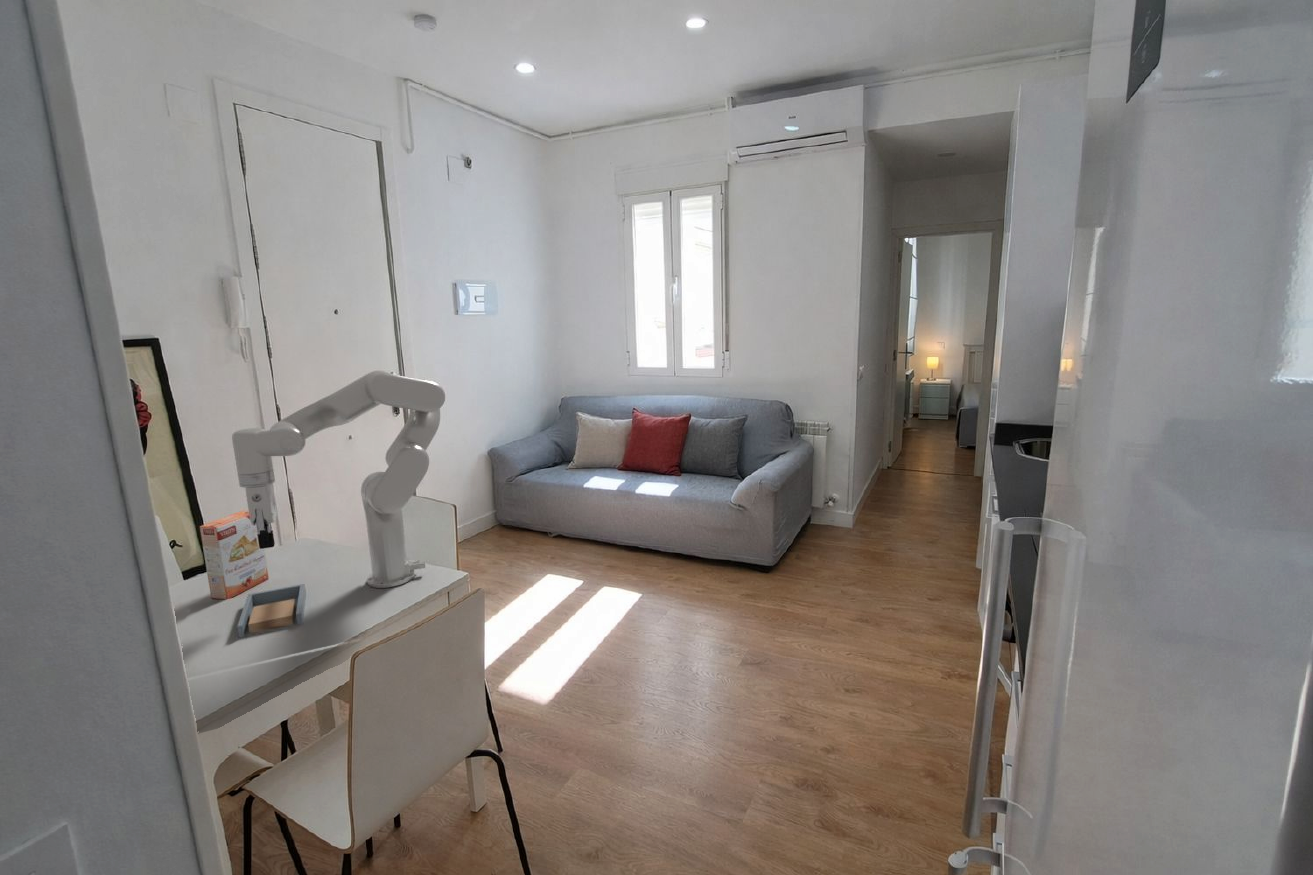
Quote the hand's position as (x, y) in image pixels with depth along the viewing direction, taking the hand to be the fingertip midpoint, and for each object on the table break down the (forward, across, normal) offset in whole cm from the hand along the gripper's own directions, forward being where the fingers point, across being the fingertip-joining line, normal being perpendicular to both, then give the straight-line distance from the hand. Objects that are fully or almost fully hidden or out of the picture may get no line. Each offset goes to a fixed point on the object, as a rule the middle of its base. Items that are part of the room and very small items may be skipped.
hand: (267, 546), depth 156 cm
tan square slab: (+16, -8, 0) cm, 19 cm away
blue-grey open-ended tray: (+17, -5, 0) cm, 18 cm away
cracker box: (+17, +18, +10) cm, 27 cm away
